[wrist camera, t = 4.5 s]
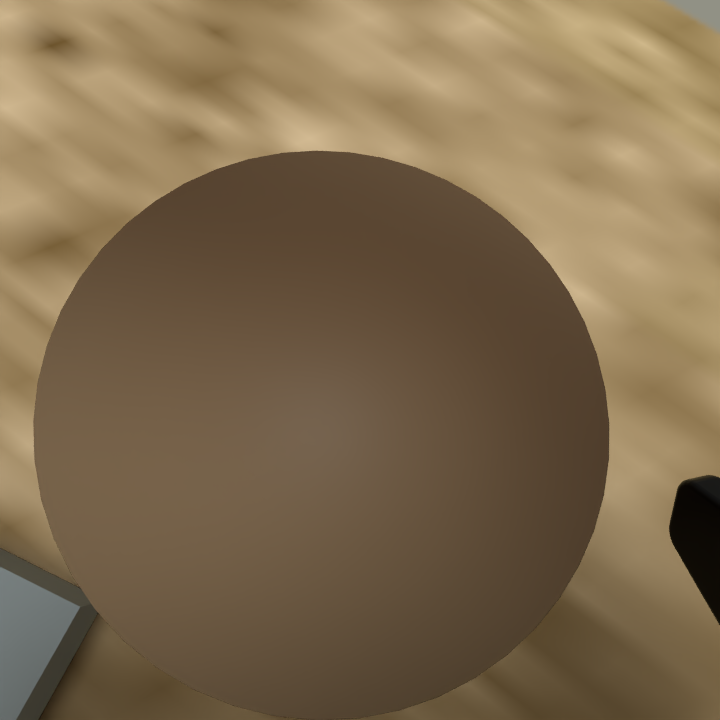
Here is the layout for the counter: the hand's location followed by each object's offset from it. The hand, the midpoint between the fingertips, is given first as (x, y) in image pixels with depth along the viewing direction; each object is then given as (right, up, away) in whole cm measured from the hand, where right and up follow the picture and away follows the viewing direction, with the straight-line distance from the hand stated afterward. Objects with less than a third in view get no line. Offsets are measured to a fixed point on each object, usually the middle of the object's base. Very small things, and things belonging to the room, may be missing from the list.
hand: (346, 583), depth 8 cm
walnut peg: (-2, -1, +9) cm, 9 cm away
